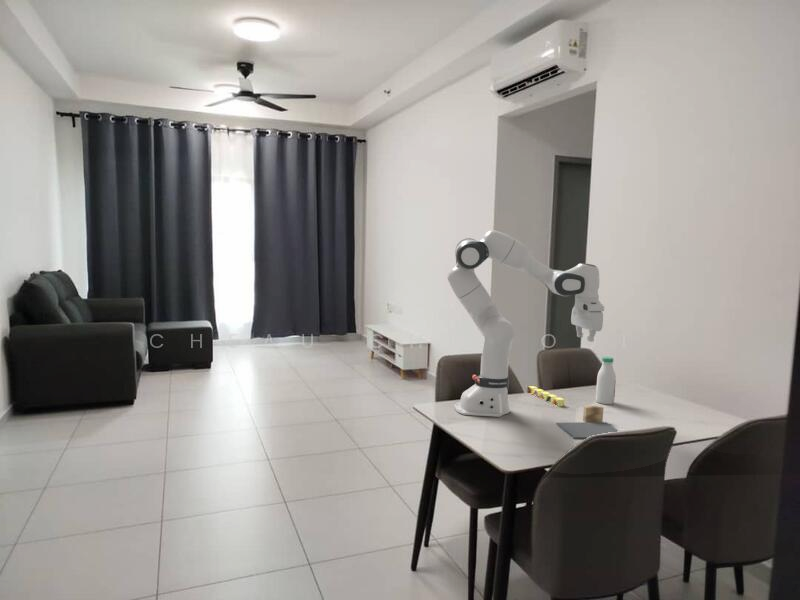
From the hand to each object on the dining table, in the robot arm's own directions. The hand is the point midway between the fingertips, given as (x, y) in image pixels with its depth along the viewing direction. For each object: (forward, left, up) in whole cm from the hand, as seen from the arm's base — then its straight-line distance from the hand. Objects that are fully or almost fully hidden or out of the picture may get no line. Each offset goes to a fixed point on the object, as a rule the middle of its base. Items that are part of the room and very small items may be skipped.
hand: (585, 339), depth 217 cm
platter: (-7, +23, -32) cm, 40 cm away
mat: (-4, -18, -31) cm, 36 cm away
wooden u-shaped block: (+2, -7, -31) cm, 32 cm away
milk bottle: (+20, +19, -32) cm, 42 cm away
